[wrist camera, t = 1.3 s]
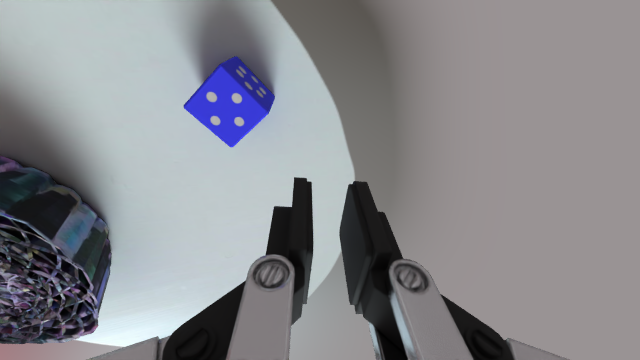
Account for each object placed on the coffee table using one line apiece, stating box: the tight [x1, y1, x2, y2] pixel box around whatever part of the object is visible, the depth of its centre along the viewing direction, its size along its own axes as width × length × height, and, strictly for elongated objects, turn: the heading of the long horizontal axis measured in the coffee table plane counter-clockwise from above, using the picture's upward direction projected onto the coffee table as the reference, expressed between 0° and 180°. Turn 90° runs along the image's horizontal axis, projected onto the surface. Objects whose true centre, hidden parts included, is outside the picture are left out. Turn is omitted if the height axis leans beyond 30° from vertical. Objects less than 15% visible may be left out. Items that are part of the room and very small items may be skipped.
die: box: [184, 56, 275, 147], centre depth 23 cm, size 5×5×5 cm
